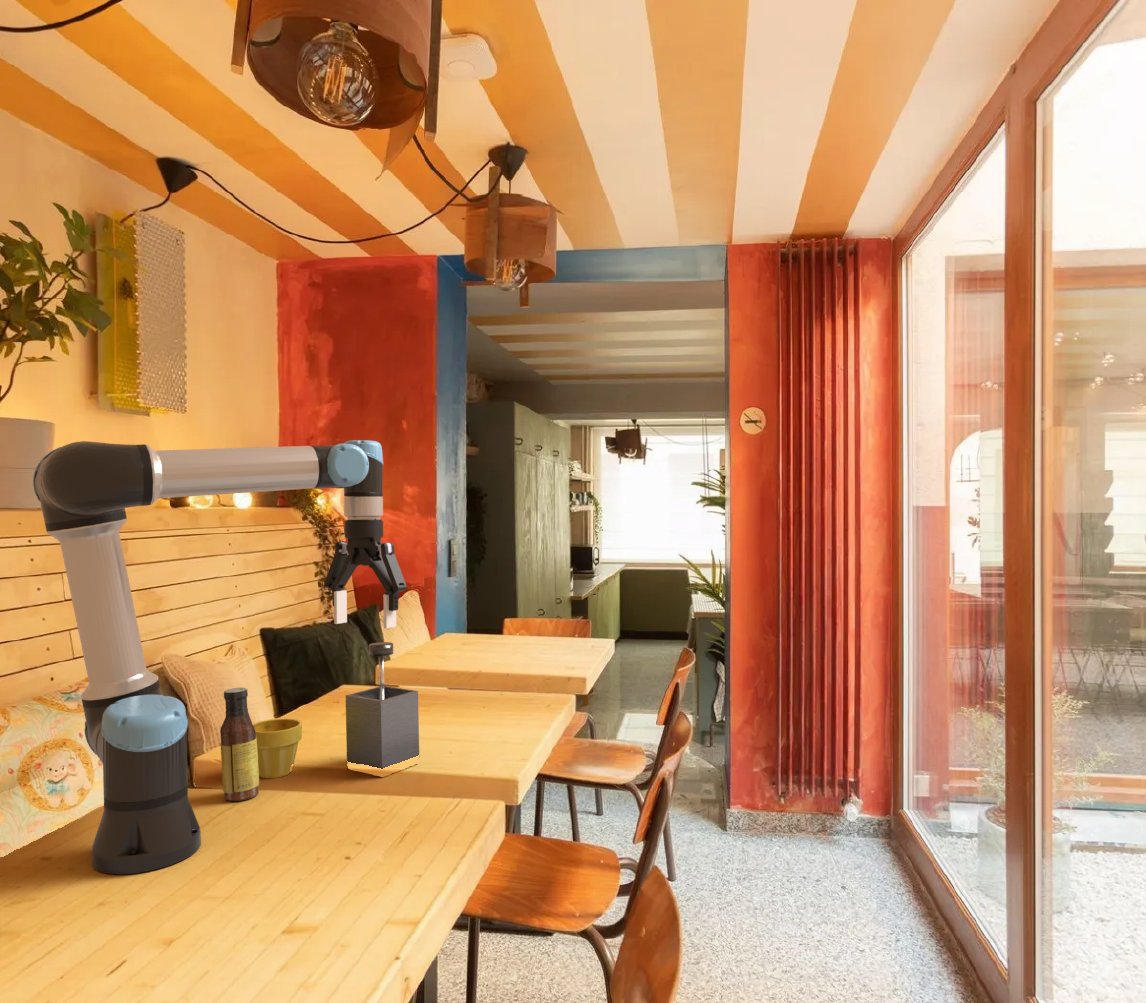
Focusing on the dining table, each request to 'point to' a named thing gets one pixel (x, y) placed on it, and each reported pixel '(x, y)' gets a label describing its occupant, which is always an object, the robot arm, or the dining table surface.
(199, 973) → the dining table surface
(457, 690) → the dining table surface
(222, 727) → the sauce bottle
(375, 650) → the plunger
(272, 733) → the plant pot
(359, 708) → the dark grey rectangular bin
